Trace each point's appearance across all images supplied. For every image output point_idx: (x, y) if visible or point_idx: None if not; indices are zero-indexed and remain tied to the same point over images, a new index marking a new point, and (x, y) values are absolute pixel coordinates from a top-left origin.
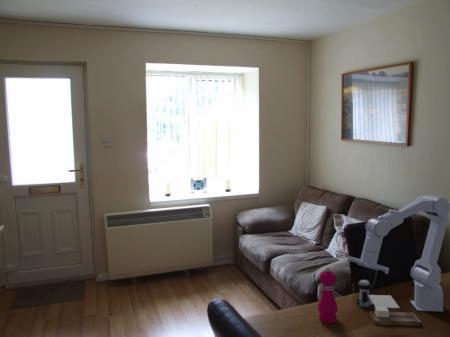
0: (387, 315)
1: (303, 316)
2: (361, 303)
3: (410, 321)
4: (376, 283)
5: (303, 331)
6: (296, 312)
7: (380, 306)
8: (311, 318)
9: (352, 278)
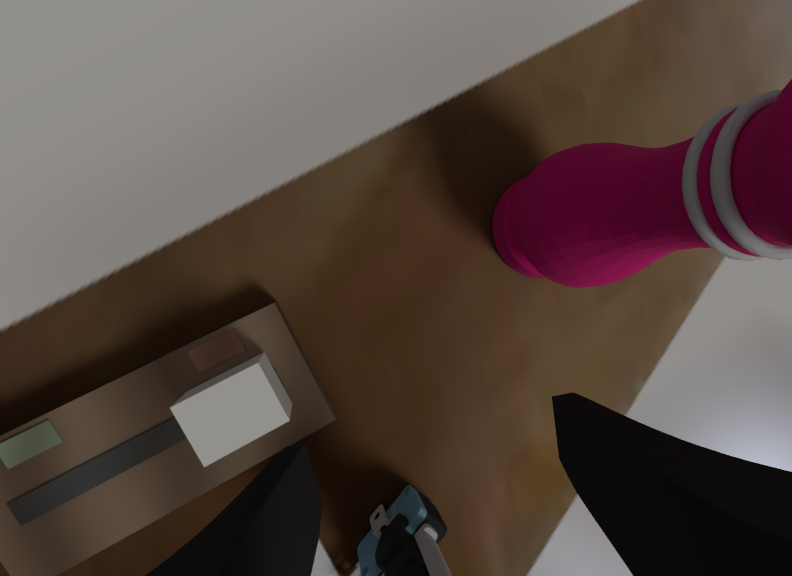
0: (191, 390)
1: None
2: (409, 505)
3: (22, 426)
4: (231, 511)
5: (604, 30)
6: None
7: None
8: None
9: (603, 419)
